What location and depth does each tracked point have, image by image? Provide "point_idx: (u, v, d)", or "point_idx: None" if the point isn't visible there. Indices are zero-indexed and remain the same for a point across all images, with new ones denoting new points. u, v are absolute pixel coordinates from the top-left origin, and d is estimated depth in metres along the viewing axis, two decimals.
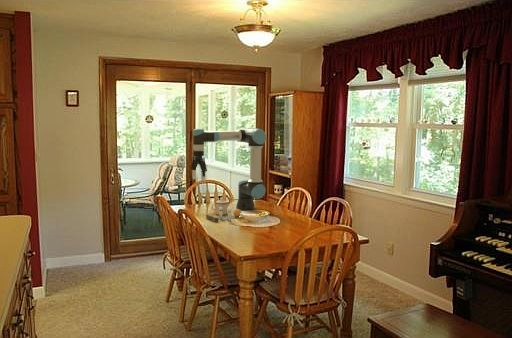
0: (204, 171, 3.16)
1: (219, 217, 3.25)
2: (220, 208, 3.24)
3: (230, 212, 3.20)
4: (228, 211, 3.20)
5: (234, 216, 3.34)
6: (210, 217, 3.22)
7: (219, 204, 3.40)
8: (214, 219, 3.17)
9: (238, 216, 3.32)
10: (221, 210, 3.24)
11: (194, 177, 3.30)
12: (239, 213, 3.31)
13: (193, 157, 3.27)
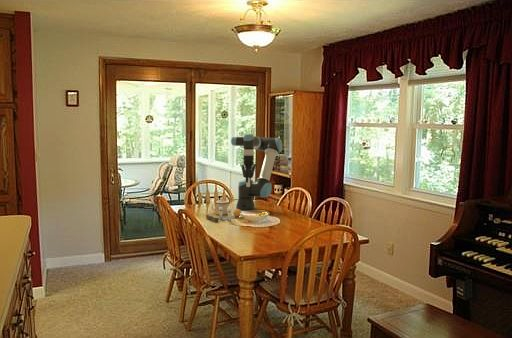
0: None
1: (219, 217, 3.25)
2: (220, 208, 3.24)
3: (230, 212, 3.20)
4: (228, 211, 3.20)
5: (234, 216, 3.34)
6: (210, 217, 3.22)
7: (219, 204, 3.40)
8: (214, 219, 3.17)
9: (238, 216, 3.32)
10: (221, 210, 3.24)
11: None
12: (239, 213, 3.31)
13: (253, 164, 3.39)
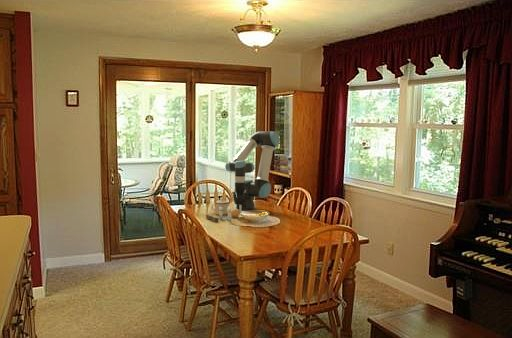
0: (236, 204, 3.32)
1: (219, 217, 3.25)
2: (220, 208, 3.24)
3: (230, 212, 3.20)
4: (228, 211, 3.20)
5: None
6: (210, 217, 3.22)
7: (219, 204, 3.40)
8: (214, 219, 3.17)
9: (237, 216, 3.31)
10: (221, 210, 3.24)
11: (239, 212, 3.34)
12: (237, 213, 3.30)
13: None
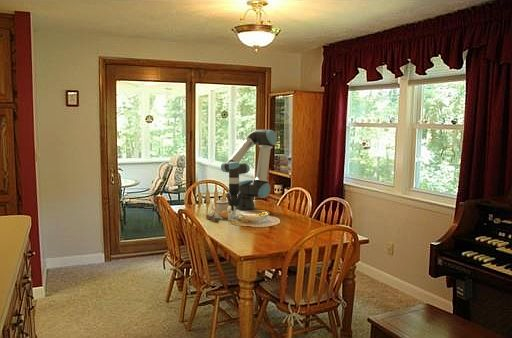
0: (230, 205, 3.30)
1: (218, 218, 3.24)
2: (211, 214, 3.20)
3: (230, 212, 3.20)
4: (228, 211, 3.20)
5: (234, 216, 3.34)
6: (210, 217, 3.22)
7: (219, 204, 3.40)
8: (214, 219, 3.17)
9: (226, 212, 3.25)
10: (214, 214, 3.21)
11: None
12: (227, 215, 3.25)
13: None
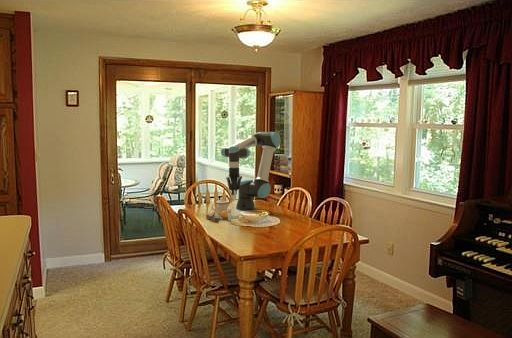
0: (230, 189, 3.28)
1: (218, 218, 3.24)
2: (211, 214, 3.20)
3: (230, 212, 3.20)
4: (228, 211, 3.20)
5: (234, 216, 3.34)
6: (210, 217, 3.22)
7: (219, 204, 3.40)
8: (214, 219, 3.17)
9: (226, 212, 3.25)
10: (213, 214, 3.21)
11: None
12: (227, 215, 3.25)
13: None
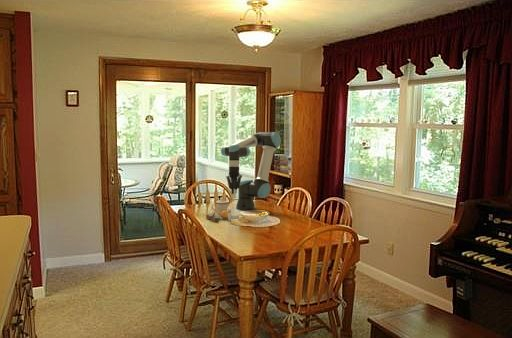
0: (230, 188, 3.28)
1: (218, 218, 3.24)
2: (211, 214, 3.20)
3: (230, 212, 3.20)
4: (228, 211, 3.20)
5: (234, 216, 3.34)
6: (210, 217, 3.22)
7: (219, 204, 3.40)
8: (214, 219, 3.17)
9: (226, 212, 3.25)
10: (213, 214, 3.21)
11: None
12: (227, 215, 3.25)
13: None
